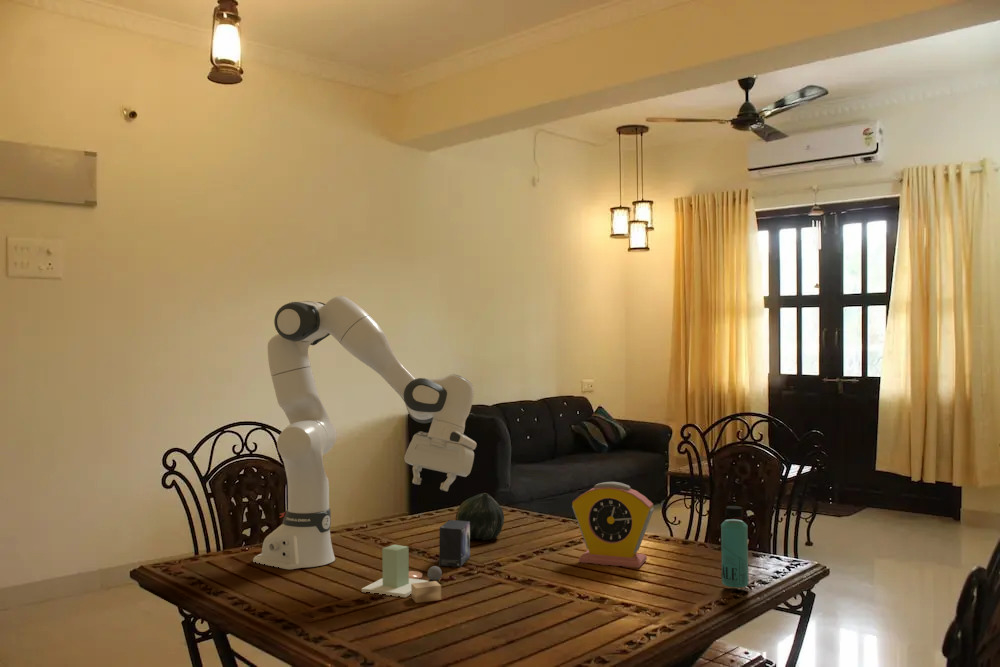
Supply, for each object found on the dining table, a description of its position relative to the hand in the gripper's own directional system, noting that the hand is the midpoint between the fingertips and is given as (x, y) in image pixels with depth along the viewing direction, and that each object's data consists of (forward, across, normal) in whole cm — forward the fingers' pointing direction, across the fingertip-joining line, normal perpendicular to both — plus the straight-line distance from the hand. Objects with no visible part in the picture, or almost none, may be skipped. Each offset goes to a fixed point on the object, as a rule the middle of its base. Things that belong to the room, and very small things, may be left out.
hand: (429, 487), depth 212 cm
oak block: (+26, +14, -6) cm, 30 cm away
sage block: (+25, +2, -4) cm, 26 cm away
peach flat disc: (+23, -2, +5) cm, 24 cm away
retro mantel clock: (+4, +34, +43) cm, 55 cm away
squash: (+8, -12, +46) cm, 48 cm away
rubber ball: (+20, +6, +5) cm, 21 cm away
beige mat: (+26, +2, -4) cm, 26 cm away
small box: (+16, -1, +21) cm, 27 cm away
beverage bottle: (+4, +71, +36) cm, 79 cm away
